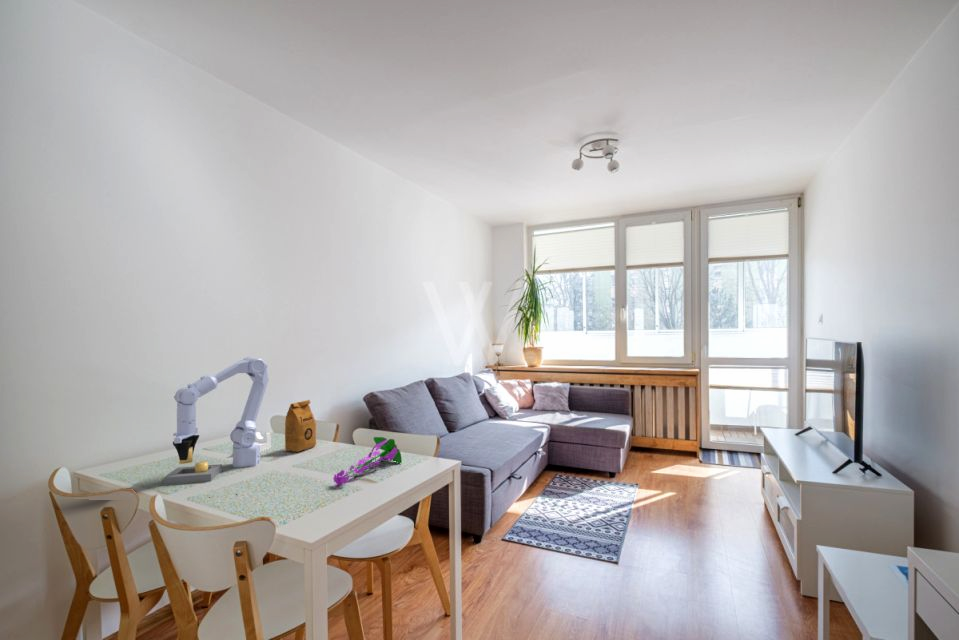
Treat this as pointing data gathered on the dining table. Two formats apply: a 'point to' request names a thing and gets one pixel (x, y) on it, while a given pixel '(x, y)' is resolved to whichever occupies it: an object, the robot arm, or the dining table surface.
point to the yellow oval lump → (190, 457)
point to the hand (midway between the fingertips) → (186, 457)
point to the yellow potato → (201, 467)
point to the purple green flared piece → (372, 458)
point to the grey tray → (191, 475)
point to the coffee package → (300, 427)
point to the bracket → (263, 441)
